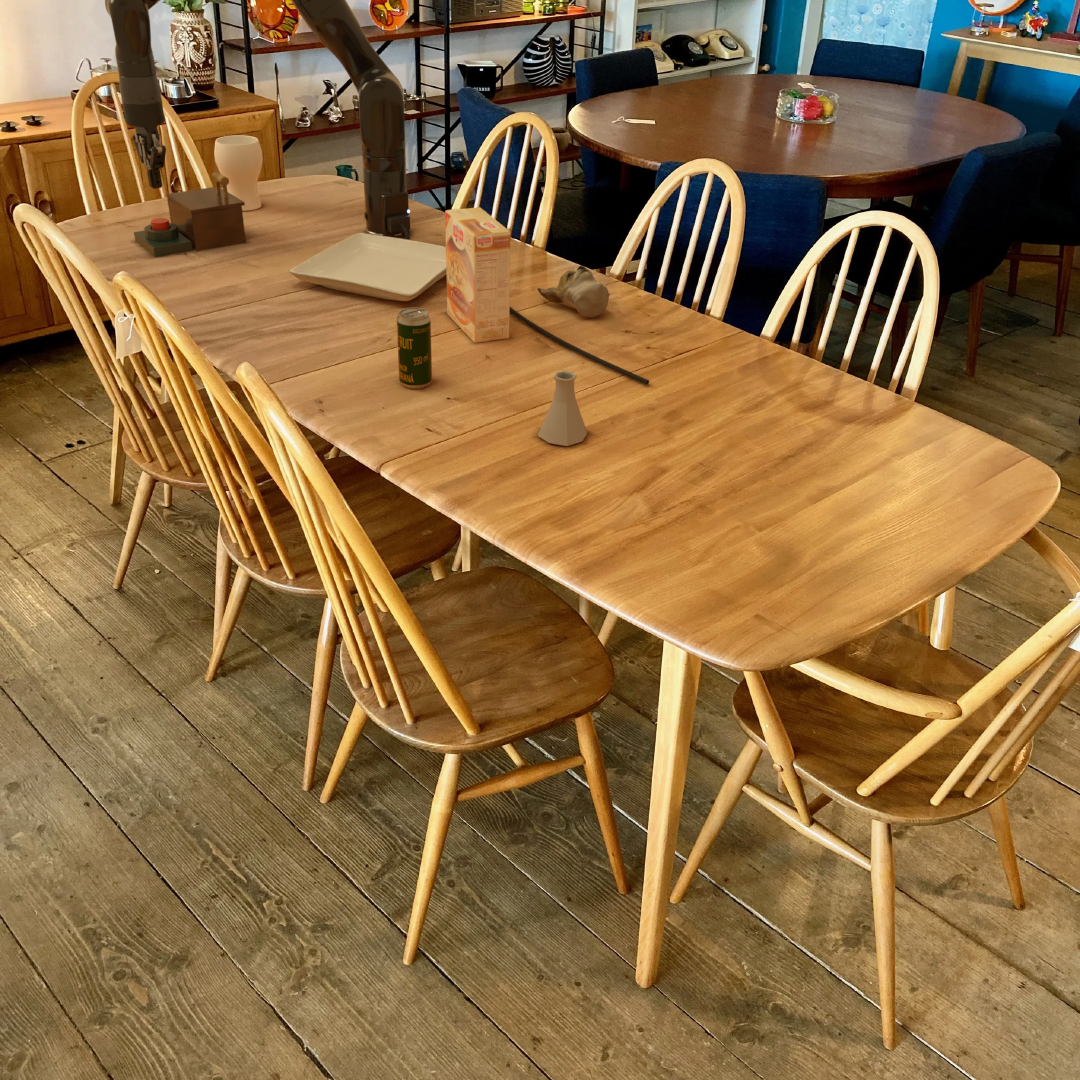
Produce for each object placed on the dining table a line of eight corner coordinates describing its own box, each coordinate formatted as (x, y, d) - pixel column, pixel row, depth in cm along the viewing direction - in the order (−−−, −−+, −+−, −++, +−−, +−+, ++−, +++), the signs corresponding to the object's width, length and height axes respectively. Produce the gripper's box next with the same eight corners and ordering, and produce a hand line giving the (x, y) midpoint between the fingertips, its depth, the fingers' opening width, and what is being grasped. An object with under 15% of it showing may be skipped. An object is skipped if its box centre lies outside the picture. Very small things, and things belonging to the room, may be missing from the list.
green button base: (192, 250, 232) (190, 231, 230) (155, 257, 228) (152, 238, 226) (171, 235, 240) (169, 216, 238) (135, 241, 236) (132, 222, 234)
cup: (256, 214, 254) (248, 147, 246) (213, 210, 256) (204, 143, 248) (274, 202, 263) (268, 136, 255) (233, 198, 265) (225, 133, 257)
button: (172, 230, 232) (171, 221, 231) (155, 232, 230) (154, 224, 229) (166, 225, 234) (165, 216, 233) (149, 228, 233) (148, 219, 232)
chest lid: (219, 189, 243) (216, 165, 240) (244, 205, 234) (242, 180, 231) (166, 197, 237) (163, 172, 234) (191, 213, 228) (187, 188, 225)
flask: (556, 420, 171) (558, 360, 166) (595, 433, 168) (599, 373, 163) (529, 437, 166) (530, 376, 161) (569, 451, 163) (572, 390, 158)
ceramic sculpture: (577, 279, 199) (534, 259, 210) (576, 326, 203) (534, 304, 214) (626, 271, 204) (581, 252, 215) (623, 317, 208) (580, 296, 219)
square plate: (288, 288, 216) (286, 269, 213) (359, 247, 237) (358, 230, 235) (412, 311, 207) (411, 291, 205) (473, 267, 229) (473, 249, 227)
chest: (220, 225, 247) (216, 190, 242) (246, 242, 238) (241, 206, 233) (172, 233, 241) (166, 197, 237) (196, 251, 232) (191, 213, 228)
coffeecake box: (445, 313, 207) (443, 209, 196) (481, 309, 209) (481, 206, 199) (473, 343, 196) (472, 234, 185) (510, 338, 198) (512, 230, 187)
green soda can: (416, 373, 184) (413, 304, 178) (439, 382, 182) (437, 313, 175) (392, 382, 181) (389, 313, 174) (415, 392, 178) (413, 322, 172)
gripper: (172, 102, 216) (186, 192, 225) (148, 90, 225) (162, 177, 234) (134, 106, 212) (149, 198, 221) (111, 94, 221) (127, 182, 230)
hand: (156, 187), depth 228 cm, fingers closed
